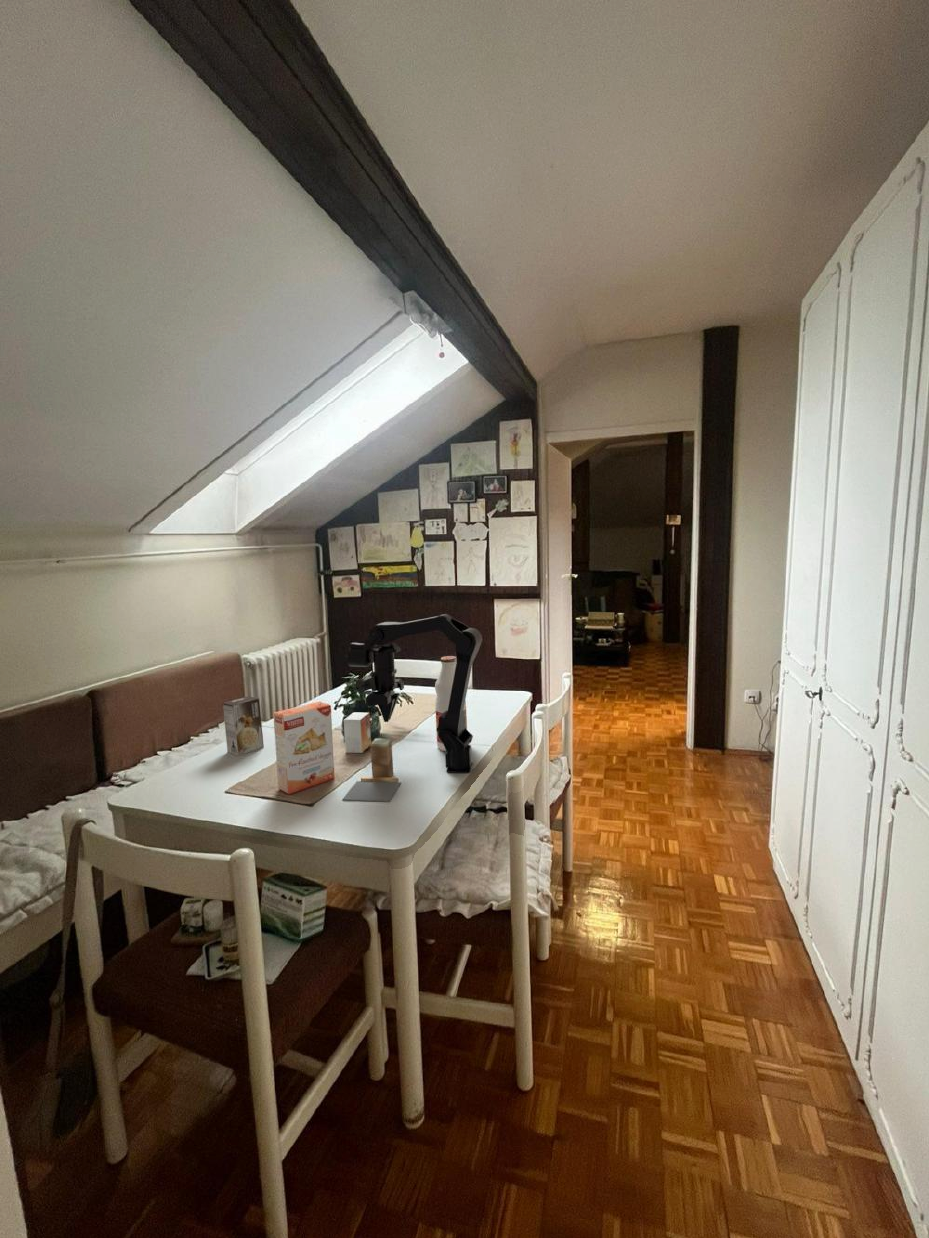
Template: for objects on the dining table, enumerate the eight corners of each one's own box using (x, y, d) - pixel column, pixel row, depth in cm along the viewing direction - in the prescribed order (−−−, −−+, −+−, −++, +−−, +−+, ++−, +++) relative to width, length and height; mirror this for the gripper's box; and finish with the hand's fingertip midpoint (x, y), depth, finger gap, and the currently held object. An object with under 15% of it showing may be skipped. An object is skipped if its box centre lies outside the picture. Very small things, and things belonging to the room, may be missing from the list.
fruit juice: (449, 754, 173) (445, 662, 169) (431, 746, 180) (426, 657, 177) (473, 746, 179) (470, 657, 175) (454, 739, 186) (451, 653, 182)
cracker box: (289, 796, 148) (283, 716, 146) (277, 789, 153) (271, 711, 150) (336, 778, 158) (331, 703, 155) (324, 773, 162) (319, 700, 160)
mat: (400, 783, 154) (400, 782, 153) (389, 801, 143) (389, 800, 143) (357, 782, 155) (356, 781, 155) (342, 800, 145) (342, 799, 145)
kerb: (398, 781, 155) (398, 777, 155) (397, 782, 154) (397, 779, 154) (362, 780, 156) (361, 776, 156) (360, 781, 155) (360, 778, 155)
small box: (362, 753, 177) (360, 719, 175) (345, 752, 178) (342, 719, 176) (371, 744, 184) (369, 712, 183) (355, 743, 186) (353, 711, 184)
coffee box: (252, 743, 189) (248, 695, 187) (264, 747, 185) (260, 698, 183) (226, 752, 182) (221, 702, 180) (238, 756, 178) (233, 705, 176)
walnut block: (393, 773, 160) (391, 738, 159) (388, 780, 156) (386, 744, 154) (377, 773, 161) (375, 738, 160) (372, 780, 156) (370, 744, 155)
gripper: (367, 660, 175) (370, 711, 177) (345, 674, 157) (349, 731, 159) (403, 660, 173) (405, 711, 175) (385, 674, 155) (388, 731, 157)
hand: (387, 720), depth 167 cm, fingers closed
